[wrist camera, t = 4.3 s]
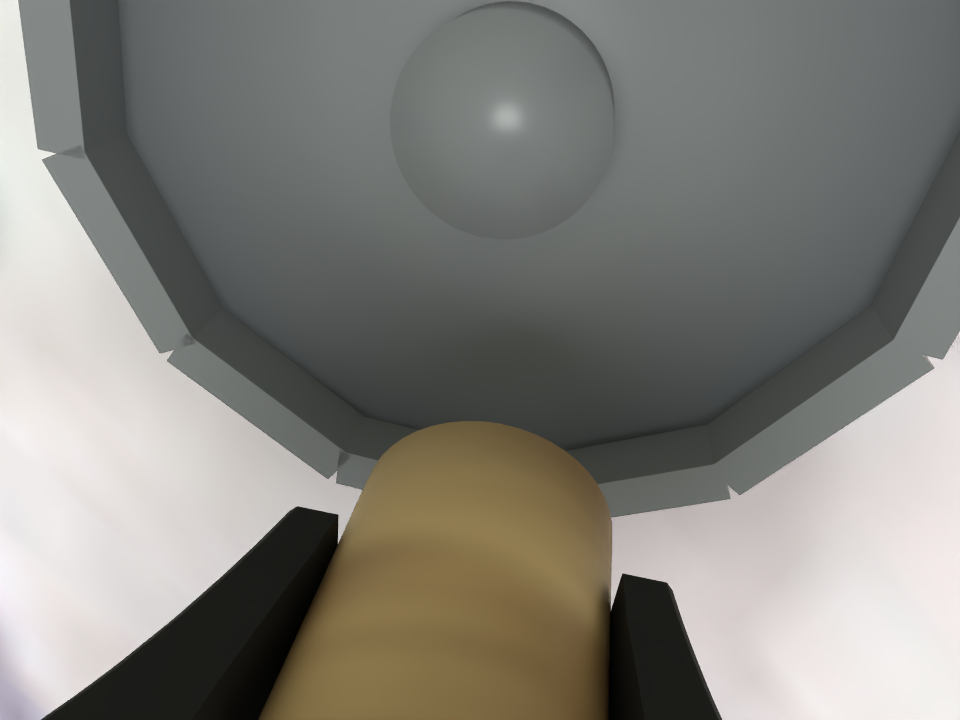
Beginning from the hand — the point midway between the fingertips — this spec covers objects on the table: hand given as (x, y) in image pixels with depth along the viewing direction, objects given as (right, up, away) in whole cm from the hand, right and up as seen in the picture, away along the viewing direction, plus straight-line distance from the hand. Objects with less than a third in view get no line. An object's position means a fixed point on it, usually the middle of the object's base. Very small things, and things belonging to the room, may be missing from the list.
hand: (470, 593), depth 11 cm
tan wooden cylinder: (0, +1, +1) cm, 2 cm away
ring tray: (+1, +9, +5) cm, 10 cm away
